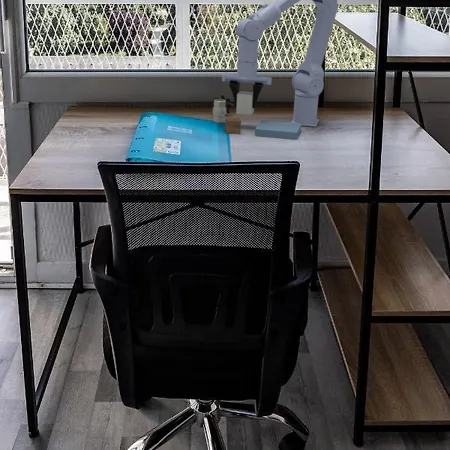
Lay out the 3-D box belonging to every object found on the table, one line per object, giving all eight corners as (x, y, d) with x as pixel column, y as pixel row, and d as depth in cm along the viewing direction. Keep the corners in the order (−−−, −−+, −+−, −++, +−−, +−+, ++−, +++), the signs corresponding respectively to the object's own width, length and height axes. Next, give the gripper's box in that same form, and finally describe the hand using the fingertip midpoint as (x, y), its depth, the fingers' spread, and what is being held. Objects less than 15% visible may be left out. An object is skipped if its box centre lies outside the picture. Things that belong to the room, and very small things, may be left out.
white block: (239, 110, 250) (239, 91, 248) (253, 112, 249) (254, 92, 247) (236, 114, 246) (237, 93, 244) (251, 115, 245) (252, 95, 243)
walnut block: (224, 130, 243) (225, 117, 242) (238, 130, 244) (238, 117, 243) (226, 134, 240) (227, 120, 238) (240, 134, 240) (241, 120, 239)
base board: (261, 126, 250) (261, 120, 249) (300, 130, 248) (301, 123, 247) (254, 135, 239) (255, 129, 238) (296, 139, 237) (296, 132, 236)
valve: (229, 123, 253) (232, 115, 264) (230, 102, 250) (233, 95, 262) (207, 122, 253) (212, 114, 264) (208, 101, 251) (212, 93, 262)
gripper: (220, 61, 240) (218, 107, 244) (270, 64, 237) (267, 111, 242) (225, 57, 246) (223, 103, 251) (273, 61, 244) (270, 106, 249)
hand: (245, 107), depth 247 cm, fingers closed on white block, 4 cm apart
